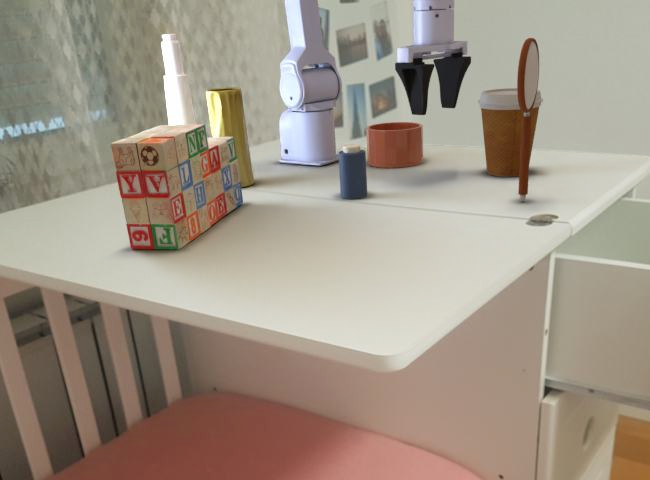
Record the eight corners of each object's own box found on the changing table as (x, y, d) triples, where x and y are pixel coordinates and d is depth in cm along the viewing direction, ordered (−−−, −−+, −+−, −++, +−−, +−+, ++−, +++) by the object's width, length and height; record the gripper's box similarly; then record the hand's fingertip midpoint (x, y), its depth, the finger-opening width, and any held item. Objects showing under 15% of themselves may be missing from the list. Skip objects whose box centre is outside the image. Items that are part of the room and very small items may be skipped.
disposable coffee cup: (486, 165, 117) (489, 87, 112) (545, 167, 113) (550, 87, 108) (468, 177, 109) (469, 94, 104) (530, 180, 105) (534, 95, 100)
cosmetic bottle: (205, 172, 123) (186, 32, 113) (212, 178, 117) (191, 33, 108) (170, 176, 121) (146, 35, 111) (174, 183, 116) (151, 35, 106)
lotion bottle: (335, 197, 102) (332, 147, 99) (350, 191, 105) (347, 142, 102) (357, 200, 100) (355, 149, 97) (372, 194, 103) (370, 144, 100)
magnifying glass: (521, 210, 91) (529, 39, 82) (508, 209, 92) (514, 40, 83) (536, 194, 98) (544, 35, 89) (523, 193, 99) (531, 36, 90)
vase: (220, 181, 116) (208, 87, 110) (257, 179, 115) (247, 86, 109) (212, 189, 110) (198, 92, 104) (251, 188, 110) (239, 90, 104)
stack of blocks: (203, 203, 102) (189, 114, 97) (244, 203, 101) (233, 112, 96) (129, 249, 83) (108, 141, 78) (179, 250, 82) (161, 140, 77)
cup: (357, 165, 122) (355, 129, 119) (386, 155, 129) (385, 121, 126) (405, 169, 117) (404, 131, 114) (432, 159, 124) (432, 123, 121)
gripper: (426, 10, 93) (427, 119, 99) (485, 7, 103) (483, 106, 108) (384, 12, 97) (387, 116, 103) (445, 9, 107) (445, 104, 113)
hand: (434, 111), depth 106 cm, fingers open, 7 cm apart
